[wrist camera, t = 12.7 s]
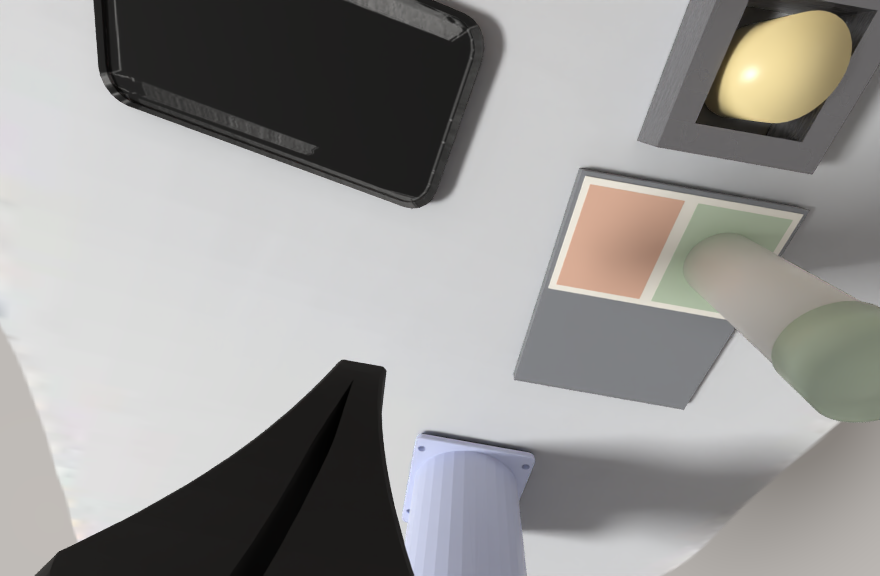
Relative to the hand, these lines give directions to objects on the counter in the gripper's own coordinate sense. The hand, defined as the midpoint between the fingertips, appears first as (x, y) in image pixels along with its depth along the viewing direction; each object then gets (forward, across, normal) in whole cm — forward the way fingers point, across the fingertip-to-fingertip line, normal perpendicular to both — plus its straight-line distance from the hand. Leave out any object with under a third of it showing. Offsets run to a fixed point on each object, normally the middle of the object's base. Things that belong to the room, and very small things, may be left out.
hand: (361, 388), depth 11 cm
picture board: (+9, -12, 0) cm, 15 cm away
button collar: (+9, -12, -10) cm, 19 cm away
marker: (+9, -14, -3) cm, 17 cm away
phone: (+10, +6, -8) cm, 14 cm away
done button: (+9, -12, -11) cm, 18 cm away
